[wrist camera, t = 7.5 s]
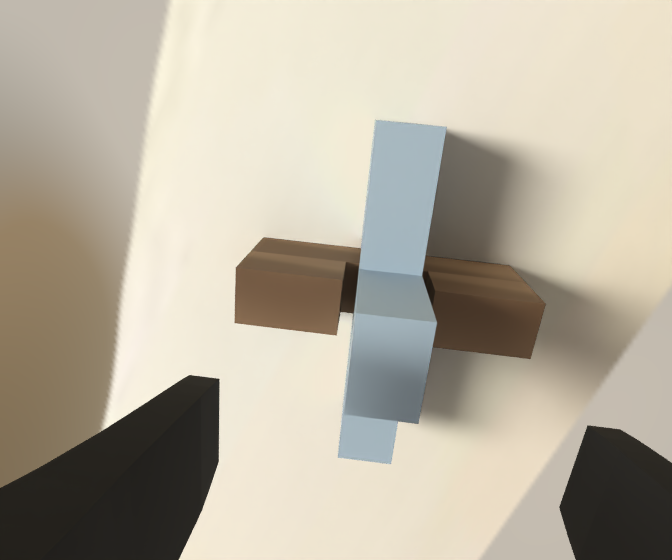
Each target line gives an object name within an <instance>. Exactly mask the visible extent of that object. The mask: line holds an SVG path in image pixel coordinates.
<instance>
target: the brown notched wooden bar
mask: <svg viewBox="0 0 672 560" xmlns="http://www.w3.org/2000/svg"><path fill="white" fill-rule="evenodd" d="M360 254H361V249H360V248H351V247H343V246H334V245H325V244H316V243H308V242H299V241H290V240H281V239H273V238H263V239H262V240H261V241H260V242H259V243H258V244H257V245H256V246H255V247H254V248H253V250H252V251H251V252H250V253H249V254H248V255H247V256H246V257H245V258H244V259H243V260H242V262H241V263H240V264H239V265H238V266H237V267H236V287H235V323H239V324H247V325H255V326H263V327H272V328H280V329H288V330H296V331H305V332H313V333H321V334H329V335H337V330H338V323H339V317H340V312H347V313H354V307H355V298H356V289H357V281H358V272H359V263H360ZM422 277H423V280H424V284H425V287H426V290H427V293H428V296H429V299H430V302H431V305H432V308H433V311H434V315H435V318H436V321H437V325H436V331H435V336H434V342H433V347H436V348H445V349H453V350H461V351H469V352H478V353H486V354H494V355H502V356H510V357H519V358H527V359H531V355H532V351H533V348H534V344H535V341H536V337H537V333H538V330H539V326H540V323H541V319H542V315H543V312H544V308H545V305H546V304H545V303H544V301H543V300H542V299H541V298H540V297H539V296H538V295H537V294H536V293H535V292H534V291H533V290H532V289H531V288H530V287H529V286H528V285H527V283H526V282H525V281H524V280H523V279H522V278H521V277H520V276H519V275H518V274H517V273H516V272H515V271H514V270H513V269H512V268H511V267H510V266H509V265H501V264H492V263H483V262H474V261H465V260H457V259H448V258H439V257H430V256H425V261H424V267H423V273H422Z"/></svg>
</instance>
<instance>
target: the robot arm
mask: <svg viewBox="0 0 672 560" xmlns="http://www.w3.org/2000/svg"><path fill="white" fill-rule="evenodd" d="M218 462H219V379H216V378H208V377H200V376H192V375H189V376H187V377H185V378H184V379H182V380H180V381H179V382H177V383H176V384H174V385H173V386H171V387H170V388H168V389H167V390H165V391H163V392H162V393H160V394H159V395H157V396H156V397H154V398H153V399H151V400H150V401H148V402H147V403H145V404H144V405H142V406H141V407H139V408H138V409H136V410H134V411H133V412H131V413H130V414H128V415H127V416H125V417H123V418H122V419H120V420H119V421H117V422H116V423H114V424H112V425H111V426H109V427H108V428H106V429H105V430H103V431H101V432H100V433H98V434H96V435H95V436H93V437H91V438H89V439H88V440H86V441H84V442H83V443H81V444H79V445H77V446H76V447H74V448H72V449H71V450H69V451H67V452H65V453H64V454H62V455H60V456H59V457H57V458H55V459H53V460H52V461H50V462H48V463H47V464H45V465H43V466H41V467H39V468H38V469H36V470H34V471H32V472H30V473H28V474H27V475H25V476H23V477H21V478H19V479H17V480H15V481H13V482H11V483H9V484H8V485H5V486H3V487H1V488H0V560H179V558H180V556H181V554H182V551H183V549H184V547H185V545H186V543H187V541H188V539H189V537H190V535H191V532H192V530H193V528H194V526H195V524H196V522H197V520H198V518H199V515H200V513H201V511H202V508H203V506H204V503H205V500H206V497H207V494H208V492H209V489H210V486H211V483H212V480H213V477H214V474H215V471H216V468H217V465H218ZM560 511H561V515H562V518H563V521H564V525H565V528H566V531H567V535H568V538H569V541H570V544H571V547H572V550H573V553H574V555H575V559H576V560H672V463H671V462H670V461H668V460H667V459H665V458H664V457H662V456H661V455H659V454H658V453H656V452H655V451H653V450H652V449H651V448H649V447H648V446H646V445H644V444H643V443H641V442H640V441H638V440H637V439H635V438H634V437H632V436H630V435H628V434H627V433H625V432H623V431H622V430H620V429H612V428H604V427H596V426H587V429H586V432H585V435H584V438H583V440H582V443H581V446H580V449H579V452H578V455H577V458H576V461H575V464H574V466H573V469H572V472H571V475H570V478H569V481H568V484H567V487H566V490H565V492H564V495H563V498H562V501H561V504H560Z"/></svg>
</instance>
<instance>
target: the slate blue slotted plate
mask: <svg viewBox="0 0 672 560" xmlns="http://www.w3.org/2000/svg"><path fill="white" fill-rule="evenodd" d="M446 128H447V127H442V126H432V125H422V124H411V123H401V122H391V121H380V120H375V127H374V136H373V145H372V154H371V162H370V171H369V180H368V189H367V198H366V206H365V215H364V224H363V233H362V243H361V254H360V263H359V272H358V281H357V289H356V298H355V307H354V313H353V321H352V330H351V338H350V347H349V356H348V365H347V374H346V383H345V391H344V401H343V411H342V421H341V431H340V441H339V451H338V458H346V459H354V460H362V461H370V462H378V463H386V464H391V461H392V455H393V449H394V442H395V436H396V430H397V424H398V421H399V422H407V423H415V424H418V423H419V418H420V412H421V407H422V401H423V396H424V390H425V385H426V380H427V374H428V369H429V363H430V358H431V352H432V347H433V342H434V336H435V331H436V325H437V321H436V318H435V315H434V311H433V308H432V305H431V302H430V299H429V296H428V293H427V290H426V287H425V284H424V280H423V277H422V273H423V267H424V261H425V255H426V249H427V243H428V237H429V231H430V225H431V219H432V213H433V206H434V200H435V194H436V188H437V182H438V176H439V170H440V164H441V158H442V152H443V146H444V140H445V134H446Z"/></svg>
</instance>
